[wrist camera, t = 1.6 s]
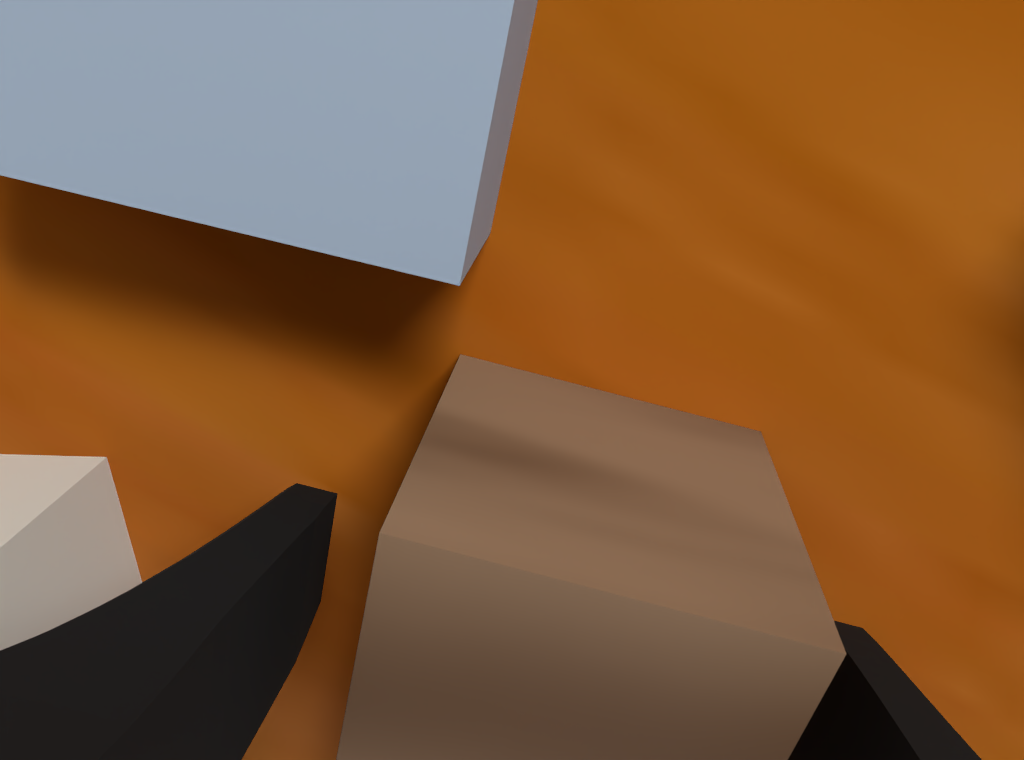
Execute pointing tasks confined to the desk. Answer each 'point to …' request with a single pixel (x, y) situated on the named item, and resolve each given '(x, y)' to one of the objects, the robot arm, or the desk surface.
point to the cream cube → (59, 542)
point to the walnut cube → (586, 587)
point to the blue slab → (275, 116)
